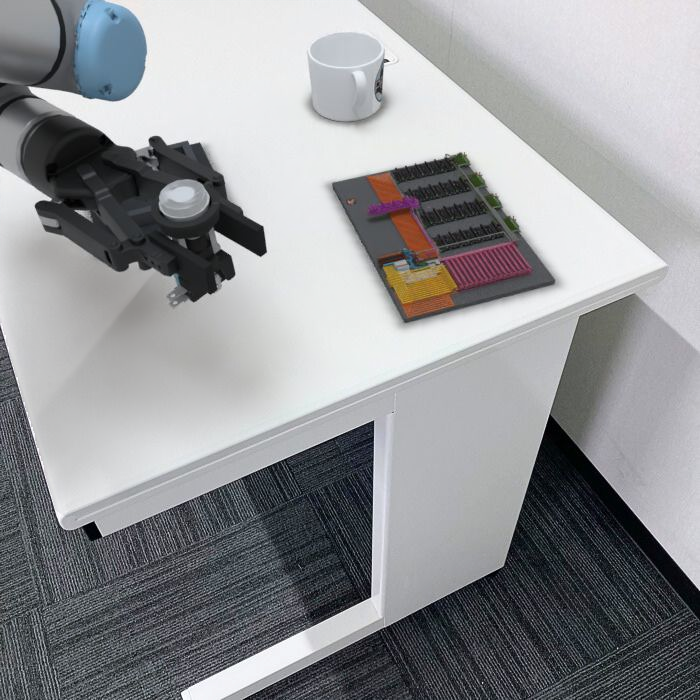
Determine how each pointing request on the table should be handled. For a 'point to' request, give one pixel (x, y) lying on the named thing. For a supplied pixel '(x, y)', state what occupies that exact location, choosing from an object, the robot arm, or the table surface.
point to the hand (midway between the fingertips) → (236, 260)
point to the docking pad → (143, 209)
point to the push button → (192, 231)
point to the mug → (346, 75)
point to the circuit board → (439, 237)
